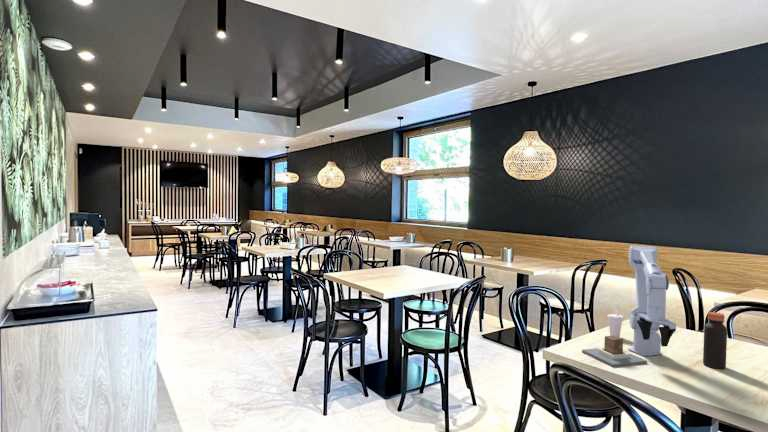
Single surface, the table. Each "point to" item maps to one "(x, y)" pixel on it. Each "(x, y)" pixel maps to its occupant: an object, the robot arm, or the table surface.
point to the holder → (614, 357)
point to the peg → (613, 345)
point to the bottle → (715, 341)
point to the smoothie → (615, 323)
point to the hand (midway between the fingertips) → (655, 342)
